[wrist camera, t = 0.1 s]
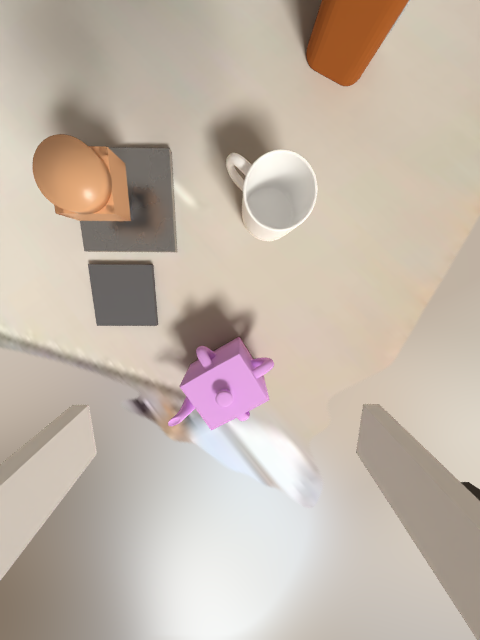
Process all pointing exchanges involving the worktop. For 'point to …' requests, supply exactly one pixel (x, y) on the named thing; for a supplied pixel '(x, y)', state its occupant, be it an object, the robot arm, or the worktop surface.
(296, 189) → the cup
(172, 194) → the post fixture
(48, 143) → the cap
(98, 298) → the pad
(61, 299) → the worktop surface
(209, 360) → the teapot
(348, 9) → the orange rounded block
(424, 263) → the worktop surface
